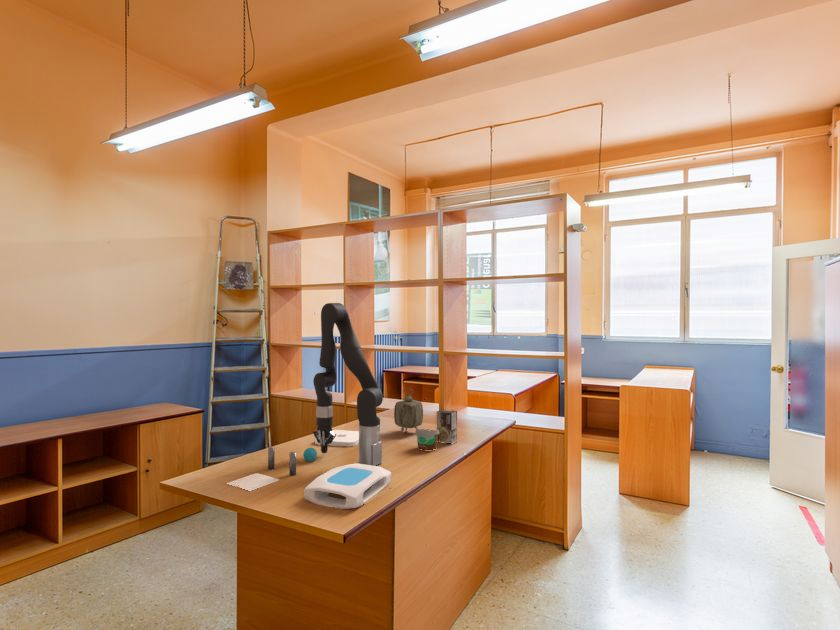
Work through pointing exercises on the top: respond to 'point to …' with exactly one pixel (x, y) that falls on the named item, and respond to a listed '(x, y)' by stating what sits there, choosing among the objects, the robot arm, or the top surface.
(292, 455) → the post
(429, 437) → the food container
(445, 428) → the coffee box
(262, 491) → the top surface
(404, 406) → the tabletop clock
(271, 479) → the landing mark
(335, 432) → the computer
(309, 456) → the ball
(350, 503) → the step platform
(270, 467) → the post
